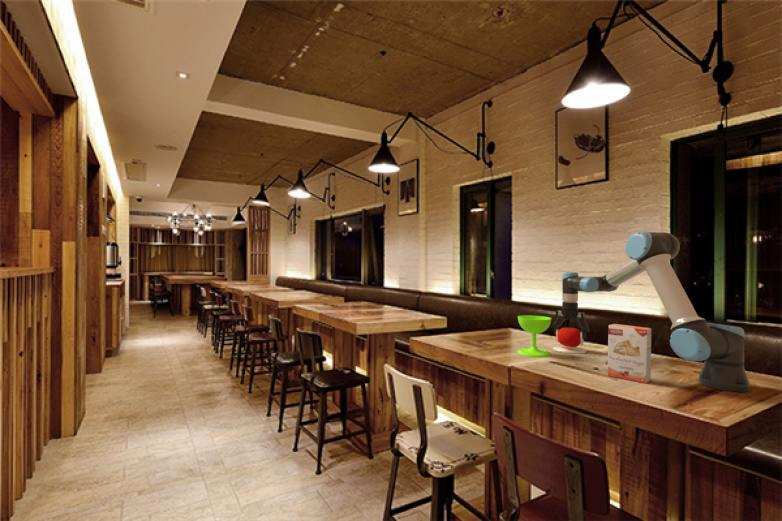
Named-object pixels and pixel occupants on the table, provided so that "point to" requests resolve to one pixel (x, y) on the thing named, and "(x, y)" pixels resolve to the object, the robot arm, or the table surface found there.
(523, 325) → the wineglass
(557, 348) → the plate
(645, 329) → the cracker box
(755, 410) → the table surface
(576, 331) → the tomato
